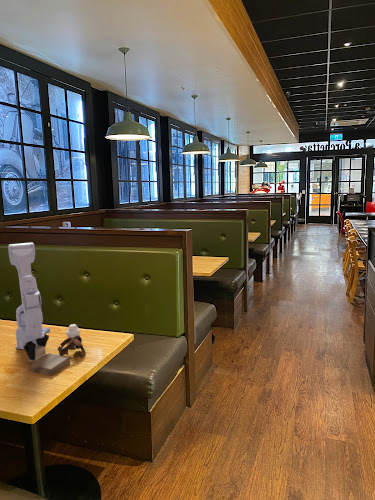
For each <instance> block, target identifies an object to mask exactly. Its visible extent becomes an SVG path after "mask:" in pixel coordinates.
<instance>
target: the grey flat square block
mask: <svg viewBox="0 0 375 500" xmlns="http://www.w3.org/2000/svg"><path fill="white" fill-rule="evenodd" d="M70 364H71V361H70V356H65V355H62V356H61V355H59V354H56V353H55V354H54V353H46V355H45V356H43V357H41V358H40V359H38V360H36V361H35V362H30V363H29V372H32V373H37V374H42V375H47V376H51V377H52V376H54V375H55V374H57V373H58V372H60V370H62V369H64V368H65V367H67V366H68V365H70Z"/></svg>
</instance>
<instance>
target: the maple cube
mask: <svg viewBox="0 0 375 500" xmlns="http://www.w3.org/2000/svg"><path fill="white" fill-rule="evenodd" d="M46 354H47V353H46V347H45V346H40V345H36V347H35V360H30V359H29V356H28V355H27V358H28V360H27V361H28V362H29V363H33V362H35V361H36V360H38V359H40V358H41V357H43V356H45V355H46Z"/></svg>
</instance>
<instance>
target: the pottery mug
mask: <svg viewBox="0 0 375 500" xmlns="http://www.w3.org/2000/svg"><path fill="white" fill-rule="evenodd" d="M82 342H83V341H82V337H81V336H80V335H79V336H78V335H77V336H75V337H74V338H73V337H69V338H68V337H67V338H66V339H64V340H63V341H62V342H61V343H60V344H59V346H58V347H57V351H58V355H61V356H65V355H67V356H69V351H75V350H77V349H78V350H81V352H80V355H81V357H82V358H83V357H85V356H86V350H85V348H84V346H83V343H82ZM64 346H65V347H64Z"/></svg>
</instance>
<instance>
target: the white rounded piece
mask: <svg viewBox="0 0 375 500" xmlns="http://www.w3.org/2000/svg"><path fill="white" fill-rule="evenodd" d="M65 334H66V336H67V338H69V337H73V338H74V337H75V336H77V335H78V336H80V335H81V328H79V327H78V325H77V324H75V323H73V324H70V325H69V326H68V329H67V330H66V331H65Z"/></svg>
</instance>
